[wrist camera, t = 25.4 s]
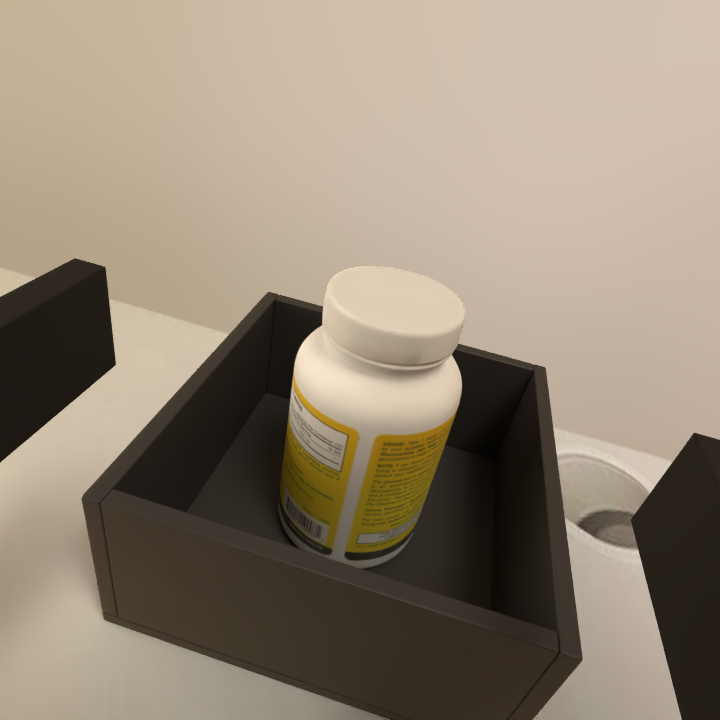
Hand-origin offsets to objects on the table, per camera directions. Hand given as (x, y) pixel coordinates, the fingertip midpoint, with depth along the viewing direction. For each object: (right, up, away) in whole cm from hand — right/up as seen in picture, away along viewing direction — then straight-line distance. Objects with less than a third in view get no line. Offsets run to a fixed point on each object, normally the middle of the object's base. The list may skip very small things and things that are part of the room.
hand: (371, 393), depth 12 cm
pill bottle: (-1, -6, +12) cm, 13 cm away
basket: (-1, -7, +12) cm, 14 cm away
